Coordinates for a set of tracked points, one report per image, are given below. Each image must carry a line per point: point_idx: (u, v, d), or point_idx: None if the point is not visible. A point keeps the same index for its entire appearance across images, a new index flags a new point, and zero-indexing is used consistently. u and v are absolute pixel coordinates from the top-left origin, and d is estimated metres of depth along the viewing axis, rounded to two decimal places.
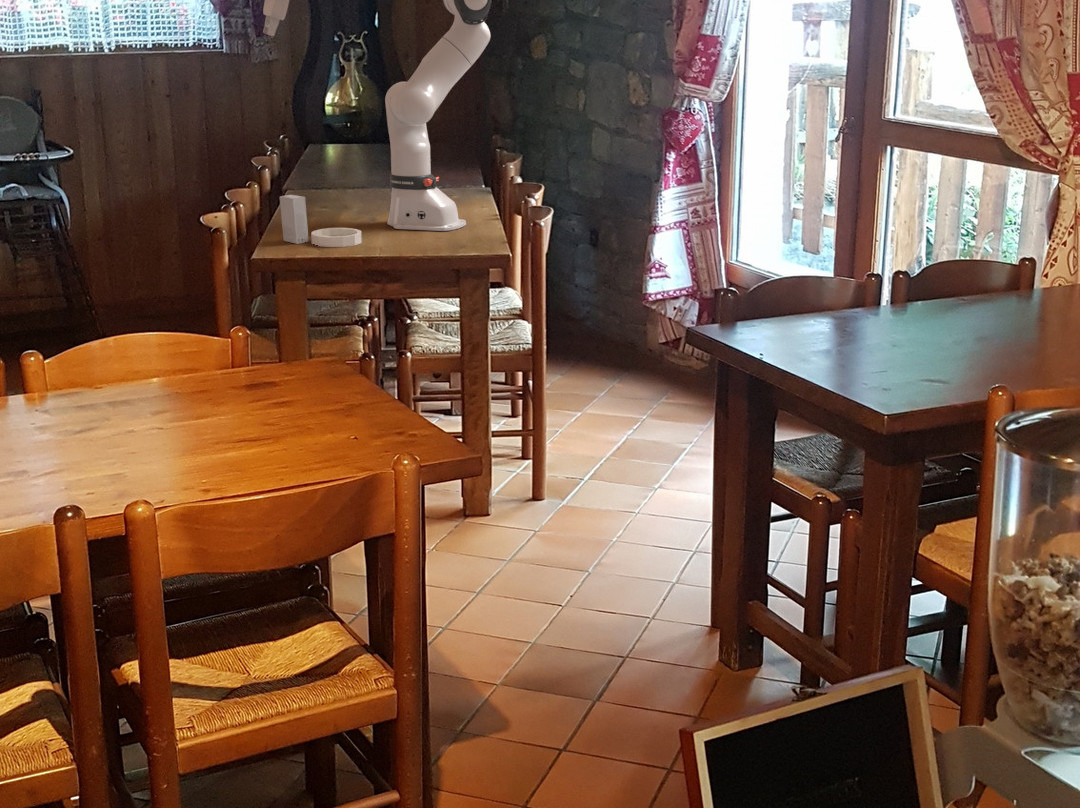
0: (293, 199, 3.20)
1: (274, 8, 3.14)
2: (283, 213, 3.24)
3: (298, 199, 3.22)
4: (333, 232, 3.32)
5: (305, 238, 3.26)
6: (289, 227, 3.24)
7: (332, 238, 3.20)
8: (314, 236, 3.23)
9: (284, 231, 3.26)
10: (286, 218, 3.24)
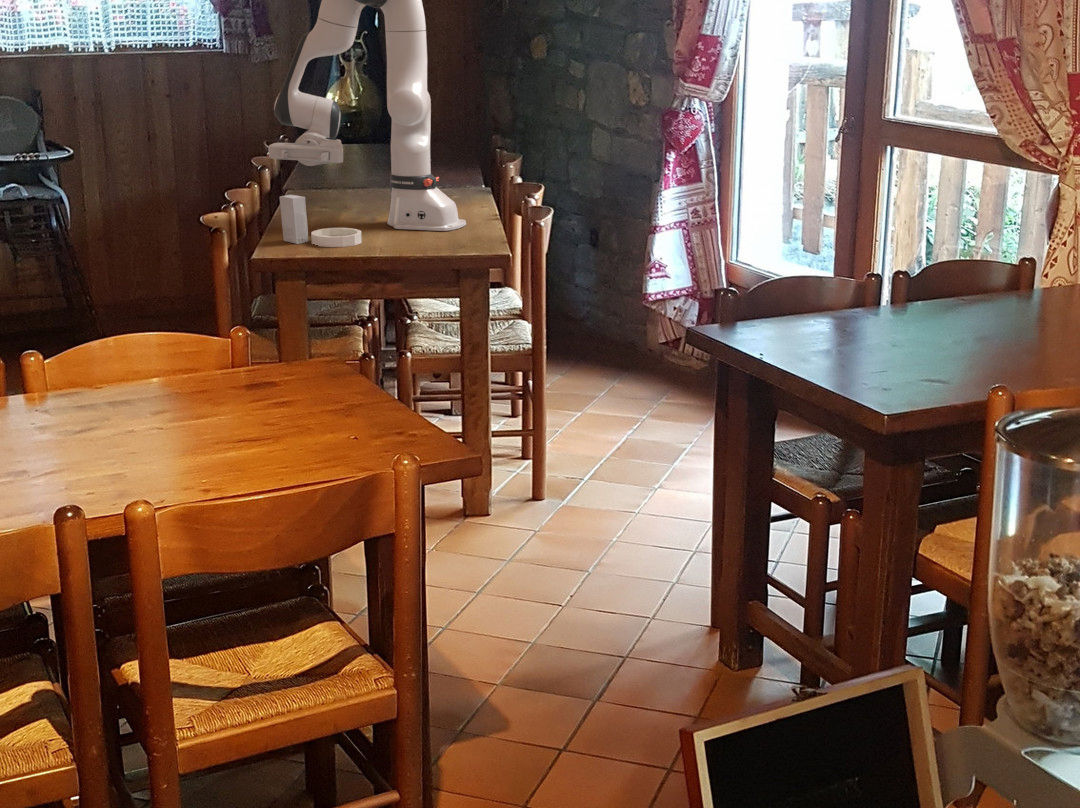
0: (293, 199, 3.20)
1: None
2: (283, 213, 3.24)
3: (298, 199, 3.22)
4: (333, 232, 3.32)
5: (305, 238, 3.26)
6: (289, 227, 3.24)
7: (332, 238, 3.20)
8: (314, 236, 3.23)
9: (284, 231, 3.26)
10: (285, 218, 3.24)
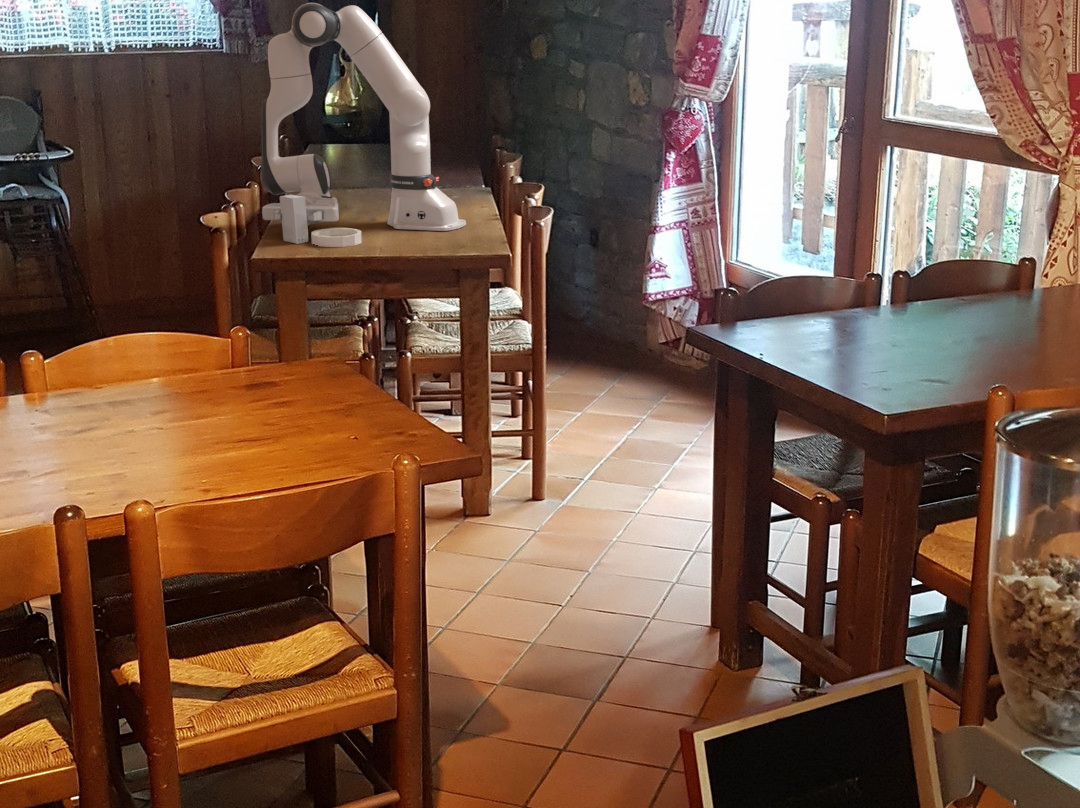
0: (293, 199, 3.20)
1: None
2: (283, 213, 3.24)
3: (298, 199, 3.22)
4: (333, 232, 3.32)
5: (305, 238, 3.26)
6: (289, 227, 3.24)
7: (332, 238, 3.20)
8: (314, 236, 3.23)
9: (284, 231, 3.26)
10: (286, 218, 3.24)
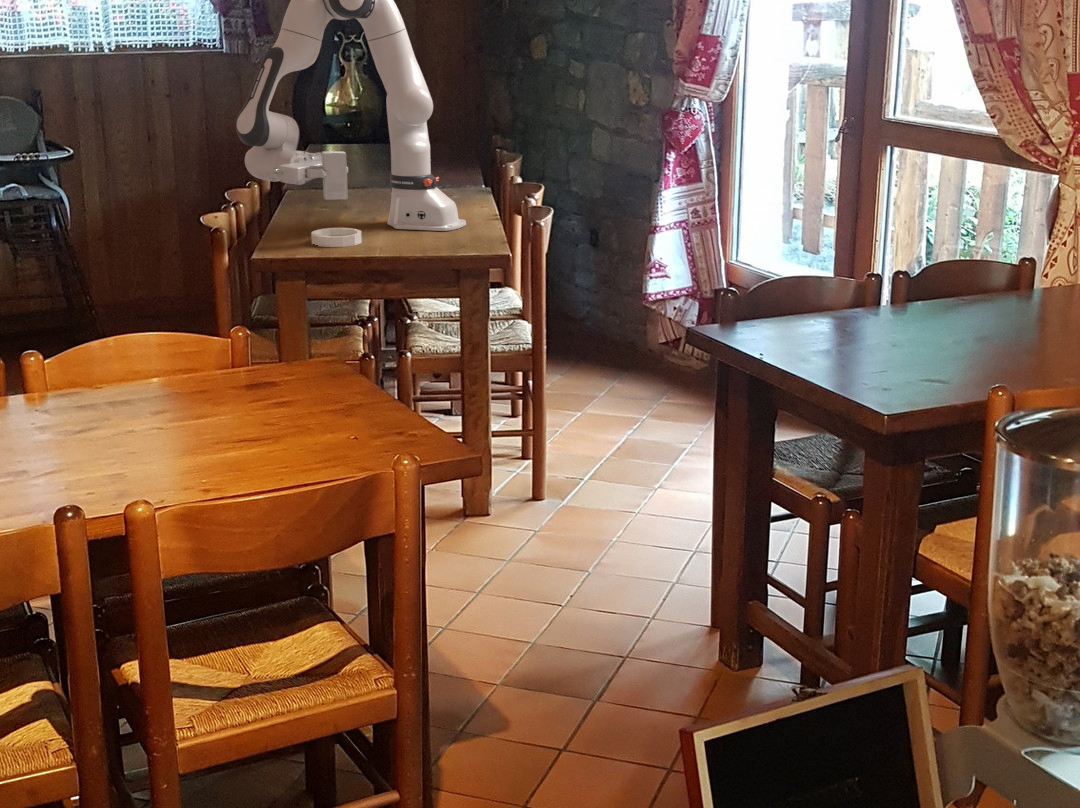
0: (345, 153, 3.19)
1: (290, 179, 3.16)
2: (329, 170, 3.18)
3: None
4: (333, 232, 3.32)
5: None
6: (338, 184, 3.20)
7: (332, 238, 3.20)
8: (314, 236, 3.23)
9: (328, 189, 3.20)
10: (333, 175, 3.19)
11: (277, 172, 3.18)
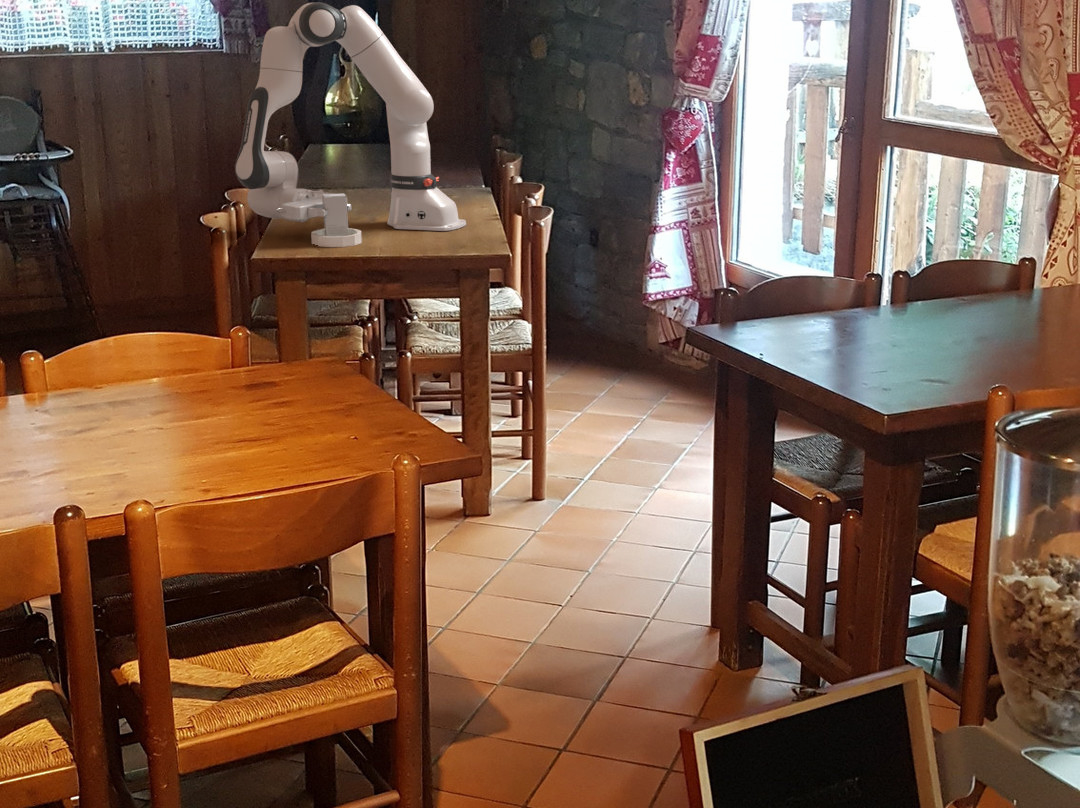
0: None
1: (292, 218, 3.20)
2: (329, 213, 3.22)
3: None
4: None
5: None
6: (339, 226, 3.23)
7: (332, 238, 3.20)
8: (314, 236, 3.23)
9: (329, 231, 3.23)
10: (333, 218, 3.22)
11: (280, 211, 3.21)
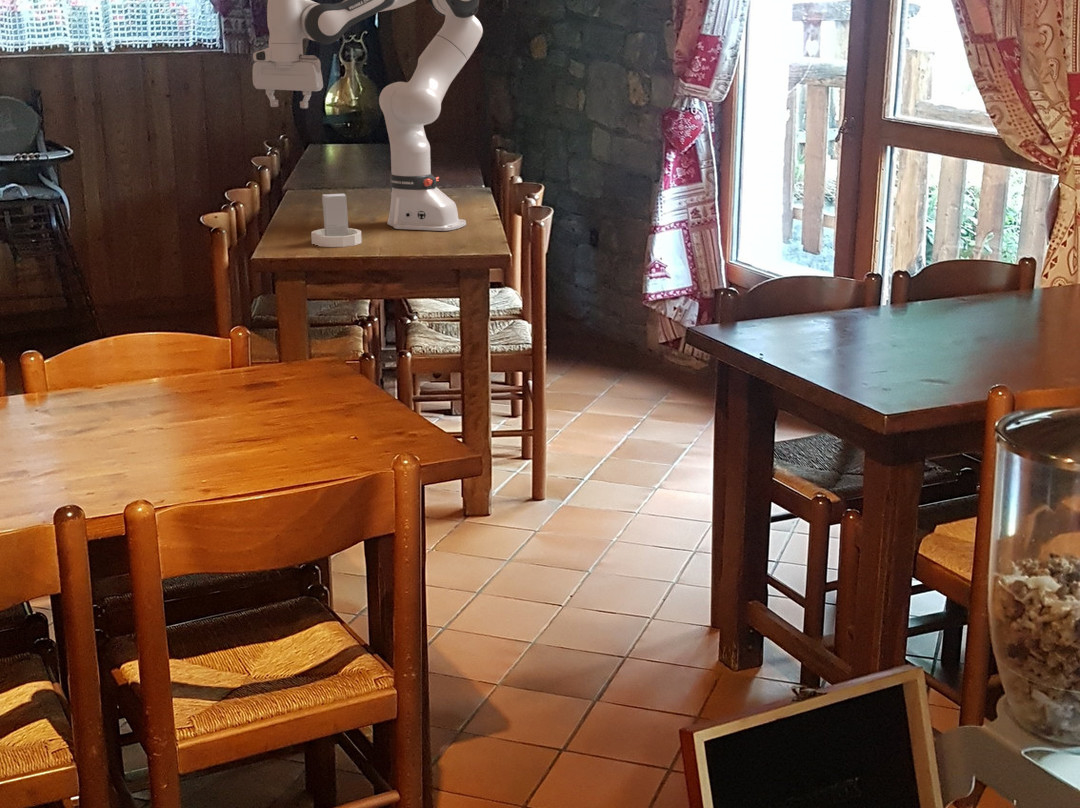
0: None
1: (317, 83, 3.27)
2: (329, 213, 3.21)
3: None
4: None
5: None
6: (339, 226, 3.23)
7: (332, 238, 3.20)
8: (314, 236, 3.23)
9: (329, 231, 3.23)
10: (333, 218, 3.22)
11: (320, 67, 3.27)
